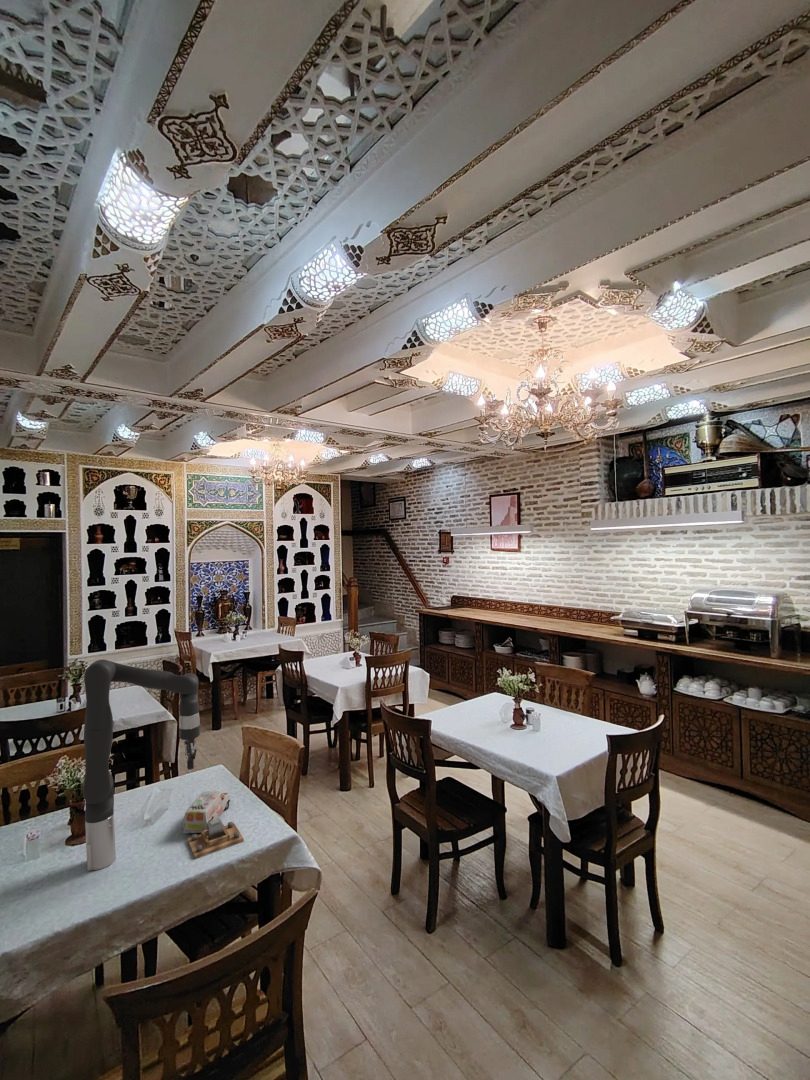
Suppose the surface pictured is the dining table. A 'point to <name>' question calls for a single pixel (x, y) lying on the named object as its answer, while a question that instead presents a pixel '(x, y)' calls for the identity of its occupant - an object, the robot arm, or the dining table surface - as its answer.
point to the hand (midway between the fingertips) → (190, 768)
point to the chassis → (214, 841)
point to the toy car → (205, 810)
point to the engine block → (214, 829)
